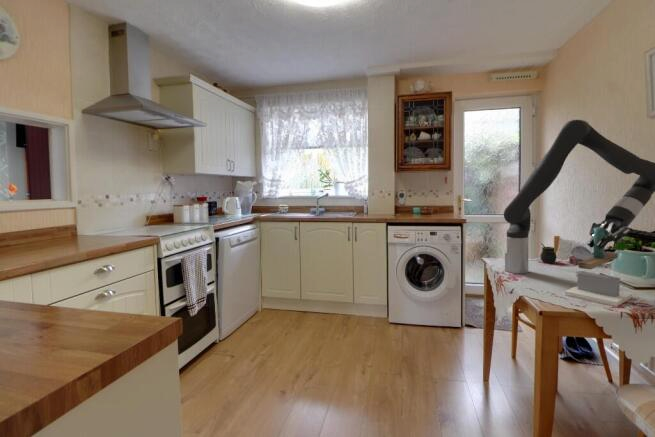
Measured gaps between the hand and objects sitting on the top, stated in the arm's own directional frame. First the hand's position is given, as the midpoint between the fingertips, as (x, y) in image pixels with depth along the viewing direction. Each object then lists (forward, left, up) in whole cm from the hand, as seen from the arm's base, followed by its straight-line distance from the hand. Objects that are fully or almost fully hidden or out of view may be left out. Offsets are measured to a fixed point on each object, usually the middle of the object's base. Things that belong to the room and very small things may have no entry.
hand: (594, 246), depth 125 cm
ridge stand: (+1, +2, -19) cm, 19 cm away
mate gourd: (-35, +41, -19) cm, 57 cm away
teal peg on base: (+1, +2, -6) cm, 7 cm away
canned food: (-23, +49, -19) cm, 57 cm away
